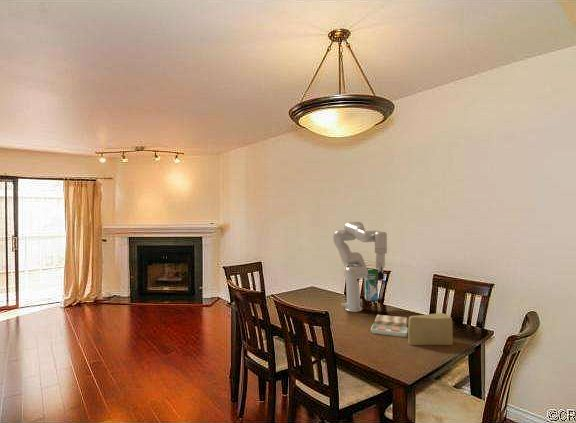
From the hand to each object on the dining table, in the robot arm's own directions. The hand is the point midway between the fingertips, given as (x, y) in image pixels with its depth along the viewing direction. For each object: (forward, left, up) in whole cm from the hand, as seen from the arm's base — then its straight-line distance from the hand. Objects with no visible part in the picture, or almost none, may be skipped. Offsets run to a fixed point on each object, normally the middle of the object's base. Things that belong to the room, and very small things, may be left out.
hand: (380, 278), depth 213 cm
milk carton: (-15, +53, -28) cm, 62 cm away
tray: (+6, -18, -28) cm, 34 cm away
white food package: (+6, -7, -28) cm, 29 cm away
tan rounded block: (+28, -28, -28) cm, 48 cm away
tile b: (+10, -18, -25) cm, 32 cm away
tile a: (+2, -19, -25) cm, 32 cm away
